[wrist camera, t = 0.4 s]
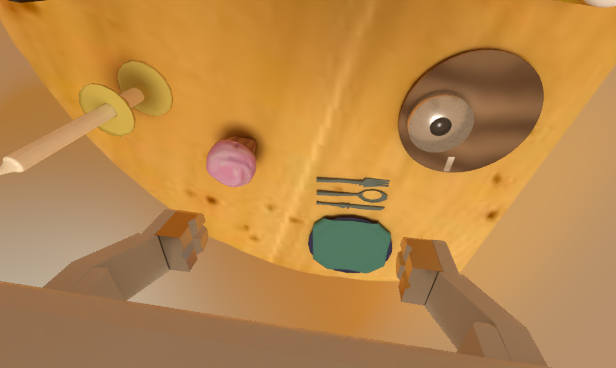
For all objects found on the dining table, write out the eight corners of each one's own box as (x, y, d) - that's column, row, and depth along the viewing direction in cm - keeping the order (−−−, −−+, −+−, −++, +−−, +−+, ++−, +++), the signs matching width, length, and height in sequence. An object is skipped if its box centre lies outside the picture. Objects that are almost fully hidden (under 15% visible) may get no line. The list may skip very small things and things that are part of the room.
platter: (415, 46, 39) (416, 47, 38) (571, 52, 36) (575, 54, 36) (388, 164, 51) (388, 167, 50) (503, 174, 49) (505, 177, 48)
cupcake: (261, 169, 57) (245, 201, 49) (220, 156, 57) (198, 186, 49) (269, 133, 51) (252, 162, 44) (224, 118, 51) (199, 145, 43)
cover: (413, 88, 41) (417, 95, 39) (477, 91, 40) (484, 99, 38) (400, 140, 47) (403, 150, 44) (456, 145, 46) (461, 155, 43)
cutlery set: (309, 262, 74) (308, 269, 73) (307, 171, 56) (306, 178, 55) (384, 270, 72) (385, 278, 70) (408, 178, 54) (409, 185, 52)
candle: (134, 116, 54) (-11, 210, 33) (107, 61, 48) (-92, 135, 27) (180, 115, 52) (59, 214, 31) (159, 59, 46) (-11, 135, 25)
